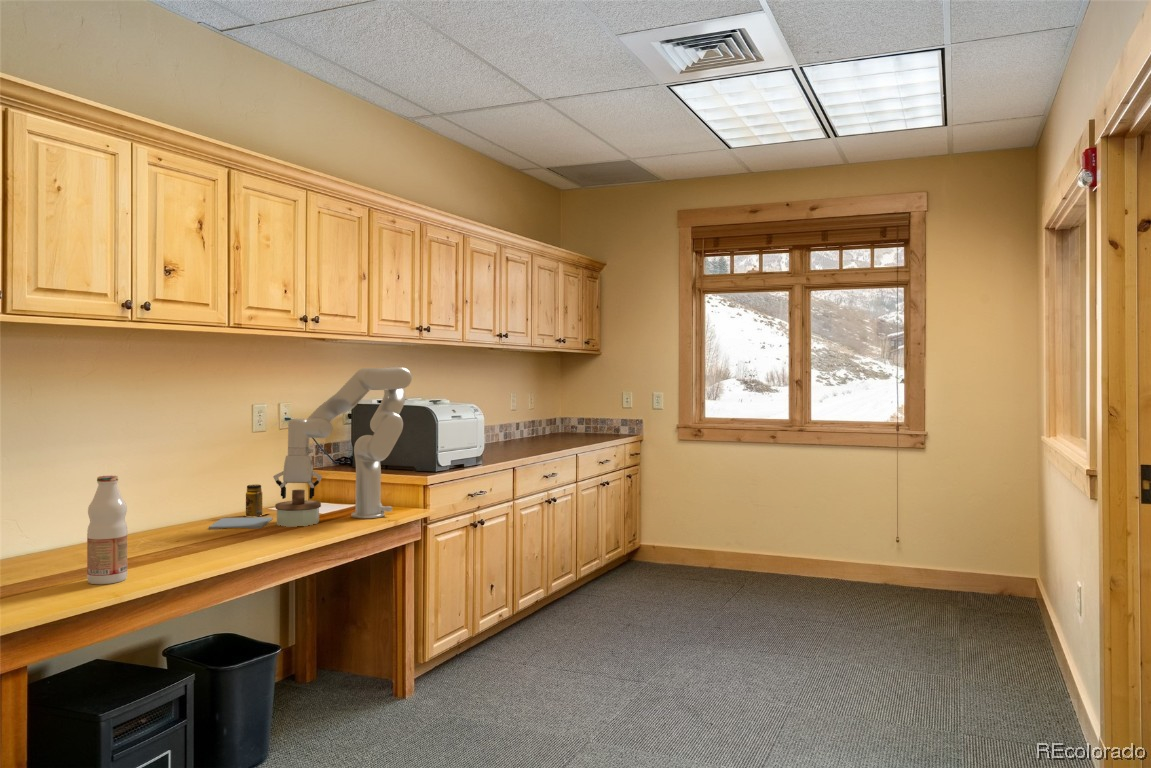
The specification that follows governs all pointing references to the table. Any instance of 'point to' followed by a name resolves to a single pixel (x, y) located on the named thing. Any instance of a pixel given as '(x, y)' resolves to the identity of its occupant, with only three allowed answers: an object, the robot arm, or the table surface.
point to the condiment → (253, 500)
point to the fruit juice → (107, 534)
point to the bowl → (297, 517)
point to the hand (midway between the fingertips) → (297, 498)
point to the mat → (241, 522)
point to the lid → (298, 502)
